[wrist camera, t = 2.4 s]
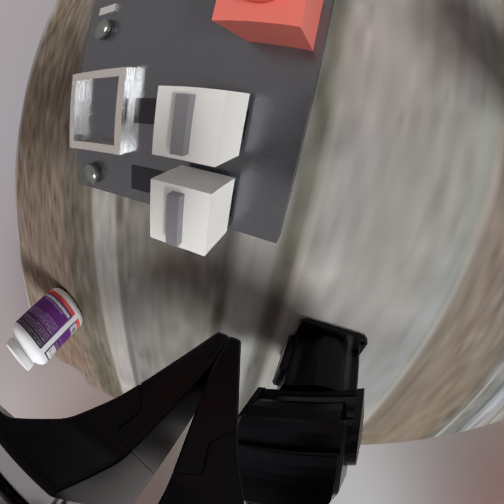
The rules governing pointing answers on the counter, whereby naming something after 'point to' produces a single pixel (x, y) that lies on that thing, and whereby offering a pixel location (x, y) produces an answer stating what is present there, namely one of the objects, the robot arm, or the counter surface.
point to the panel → (191, 75)
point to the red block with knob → (271, 20)
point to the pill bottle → (44, 328)
